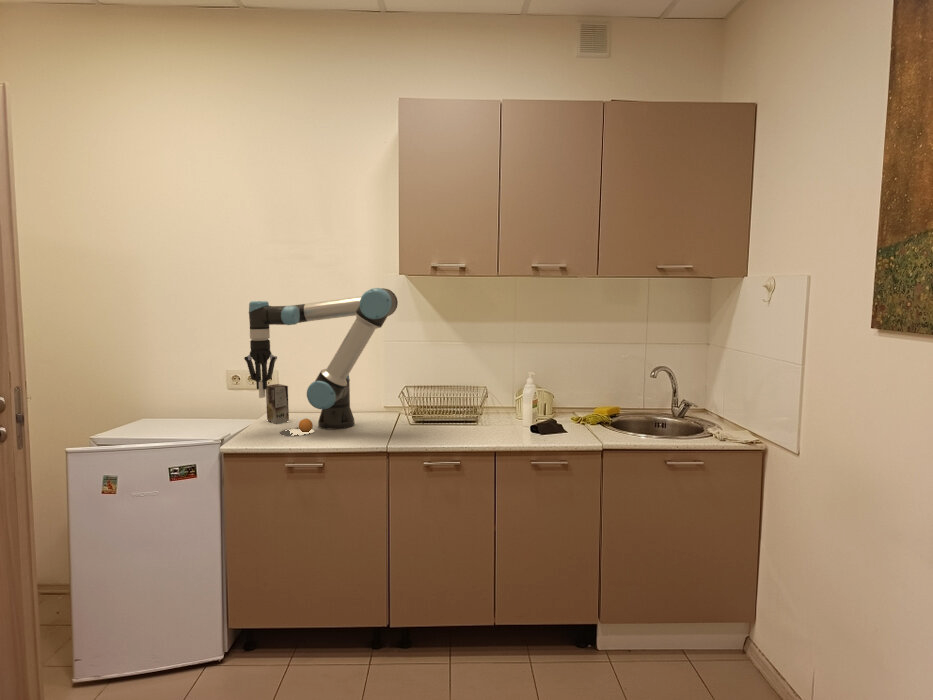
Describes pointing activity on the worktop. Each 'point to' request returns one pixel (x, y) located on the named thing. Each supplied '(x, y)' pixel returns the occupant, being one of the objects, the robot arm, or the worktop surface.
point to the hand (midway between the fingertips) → (262, 397)
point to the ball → (305, 425)
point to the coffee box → (277, 403)
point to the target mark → (288, 433)
